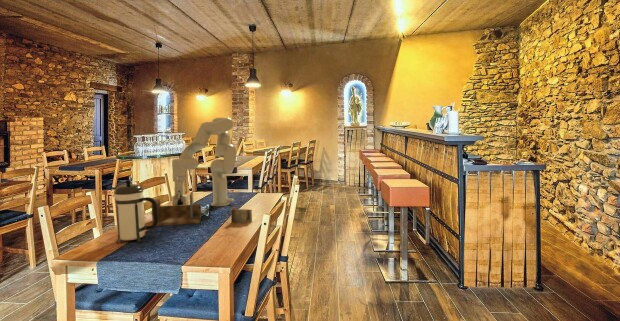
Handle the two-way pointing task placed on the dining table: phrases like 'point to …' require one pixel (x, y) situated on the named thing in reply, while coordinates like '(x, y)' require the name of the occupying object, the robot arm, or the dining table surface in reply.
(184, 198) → the ink box
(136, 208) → the coffee press
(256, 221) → the dining table surface
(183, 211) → the walnut shelf
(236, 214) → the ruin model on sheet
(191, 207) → the bookend
